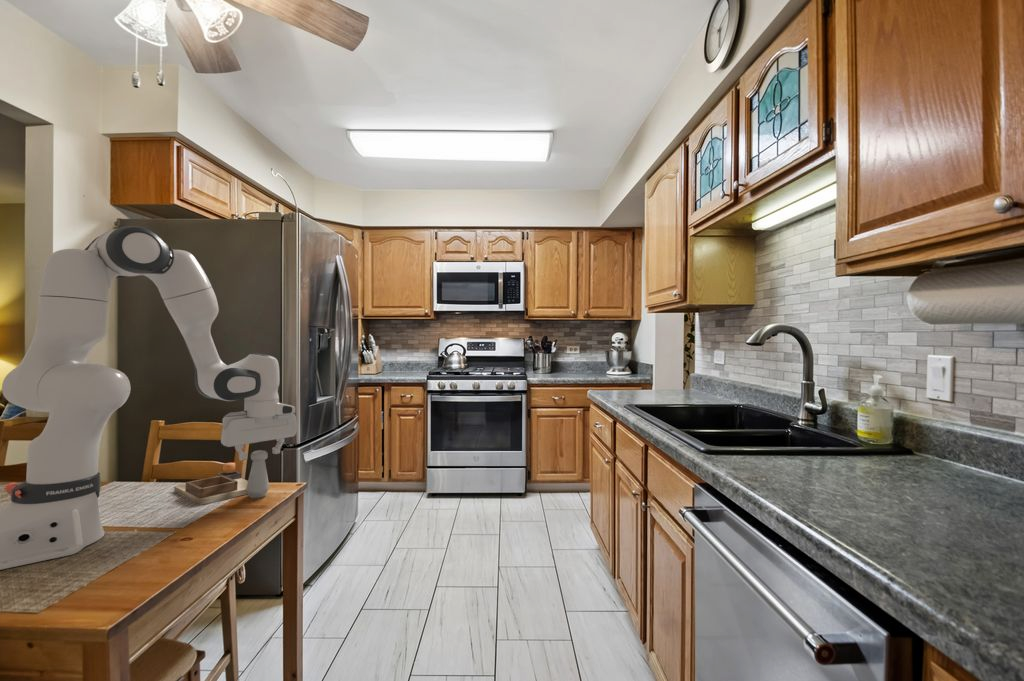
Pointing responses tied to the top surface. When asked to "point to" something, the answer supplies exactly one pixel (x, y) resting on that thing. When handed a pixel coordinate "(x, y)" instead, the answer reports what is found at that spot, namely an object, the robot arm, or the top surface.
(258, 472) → the salt shaker
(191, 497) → the pallet board
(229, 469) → the button
